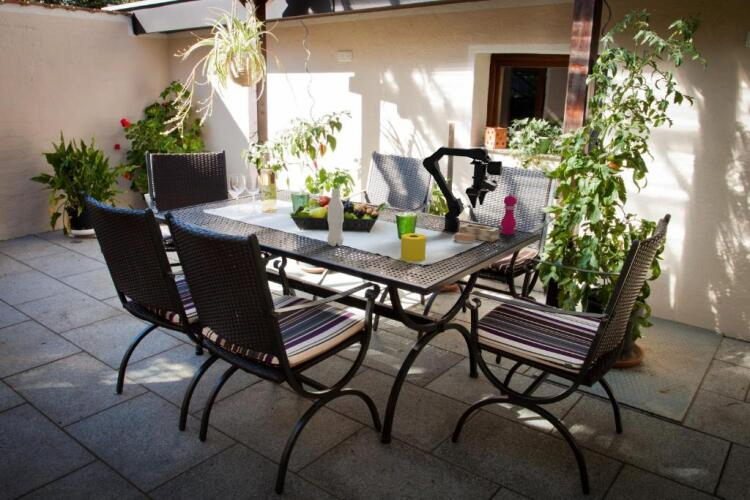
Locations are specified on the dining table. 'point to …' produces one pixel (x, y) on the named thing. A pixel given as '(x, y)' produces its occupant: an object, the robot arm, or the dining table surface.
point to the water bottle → (335, 219)
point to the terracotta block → (465, 237)
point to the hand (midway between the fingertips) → (477, 206)
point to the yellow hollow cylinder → (413, 247)
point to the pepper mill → (509, 215)
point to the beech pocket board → (481, 232)
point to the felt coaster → (465, 241)
